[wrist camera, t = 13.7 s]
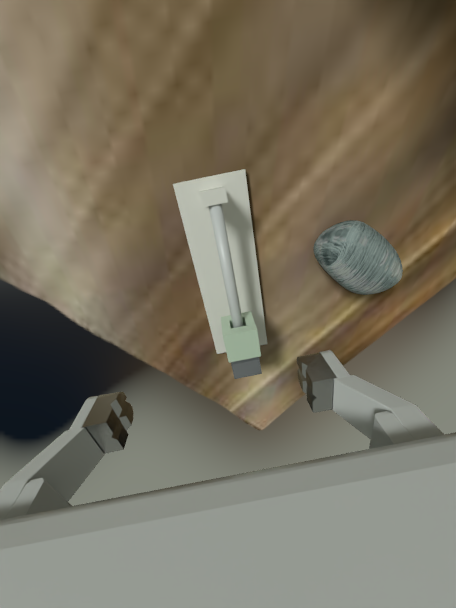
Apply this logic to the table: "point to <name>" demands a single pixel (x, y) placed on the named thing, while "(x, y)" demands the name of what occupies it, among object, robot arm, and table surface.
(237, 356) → the sleeve
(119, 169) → the table surface
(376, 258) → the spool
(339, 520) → the robot arm
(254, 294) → the stand
